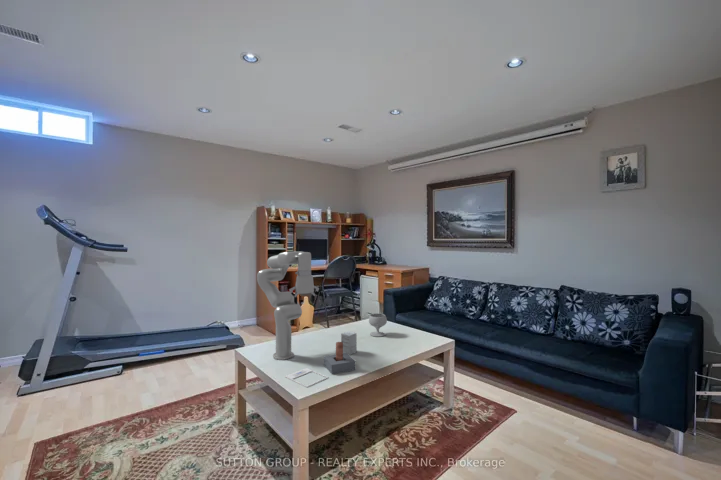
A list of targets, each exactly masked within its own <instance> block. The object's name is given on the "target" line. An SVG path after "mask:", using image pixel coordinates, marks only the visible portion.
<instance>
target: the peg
mask: <svg viewBox="0 0 721 480" xmlns="http://www.w3.org/2000/svg"><path fill="white" fill-rule="evenodd" d="M335 355H336V361H341V360H343V342H341V341H337V342H335Z"/></svg>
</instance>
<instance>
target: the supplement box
mask: <svg viewBox="0 0 721 480" xmlns="http://www.w3.org/2000/svg"><path fill="white" fill-rule="evenodd" d="M357 336H358V335H357V332H353V331H349V330H348V331H345V332H342V333H340V337H341V338H340V340H341V341H340V342H343V353H347V354H348V355H349V356H351V355H353V354H355V353H357V345H358V344H357V342H358V341H357Z"/></svg>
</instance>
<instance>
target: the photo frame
mask: <svg viewBox="0 0 721 480" xmlns="http://www.w3.org/2000/svg"><path fill="white" fill-rule="evenodd" d="M310 373H314V374H316V375H319V376H321V377H323V378H321V379H319V380H317V381H315V382H312V383H310V384H308V385H307V384H304V383H303V382H300V381H298V380H295V379H297V378H300V377H302V376H305V375H308V374H310ZM284 378H286V379H288V380H290V381H292V382H294V383H296V384H298V385H301V386H302V387H304V388H310V387H311V386H315V385H316V384H319V383H321V382H323V381H325V380H327V379H329V376H327V375H325V374H323V373H320V372H318V371H315V370H313V369H311V368H307V367H306V368H302V369H300V370H297V371H295V372H292V373H290V374H287V375H285V376H284Z"/></svg>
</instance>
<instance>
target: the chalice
mask: <svg viewBox="0 0 721 480" xmlns="http://www.w3.org/2000/svg"><path fill="white" fill-rule="evenodd" d="M368 323H369V325H370V326H372V327H374V328H375V330H376V331H372V332H370V333H369V335H370V336H372V337H379V338H380V337H385V336H386V335H387V334H386V333H385V332H383V331H380V328H382V327H384V326H386V324H387V323H388V319H387V316H386V314H384V313H372V314H370V315H369V317H368Z"/></svg>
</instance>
